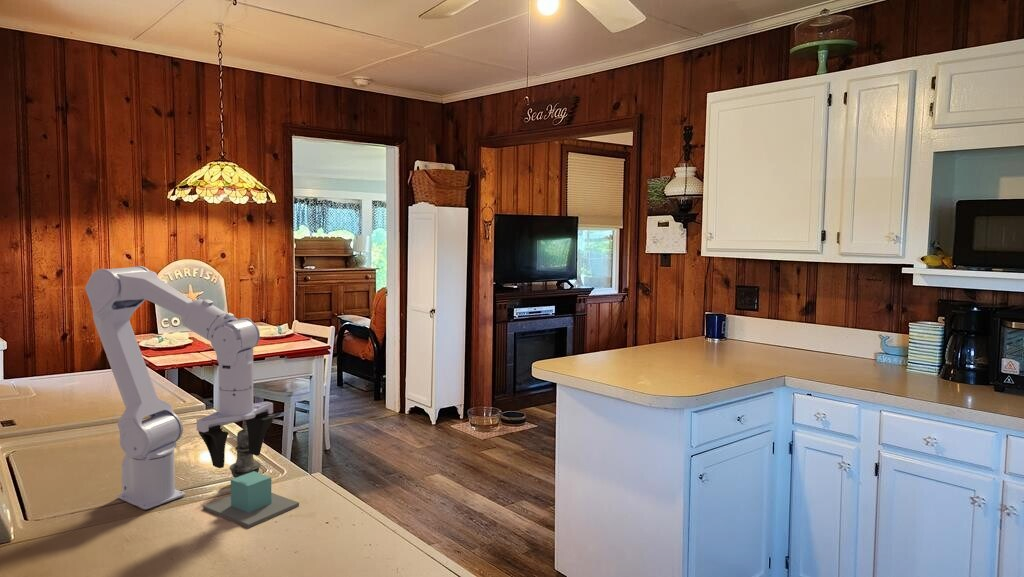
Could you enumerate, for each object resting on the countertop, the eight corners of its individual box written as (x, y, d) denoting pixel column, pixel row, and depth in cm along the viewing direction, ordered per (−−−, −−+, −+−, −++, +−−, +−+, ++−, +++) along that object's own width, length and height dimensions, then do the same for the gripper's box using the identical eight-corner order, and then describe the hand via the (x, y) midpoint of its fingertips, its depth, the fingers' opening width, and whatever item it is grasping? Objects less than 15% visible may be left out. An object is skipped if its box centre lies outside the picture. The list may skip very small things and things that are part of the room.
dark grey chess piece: (250, 490, 132) (249, 431, 131) (223, 487, 133) (222, 428, 132) (266, 479, 138) (266, 422, 137) (241, 476, 139) (240, 419, 138)
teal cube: (231, 505, 124) (230, 479, 123) (254, 496, 128) (254, 471, 127) (248, 512, 121) (247, 486, 120) (271, 503, 125) (271, 477, 125)
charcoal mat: (203, 508, 123) (203, 505, 123) (254, 489, 133) (254, 486, 133) (248, 527, 117) (248, 524, 117) (299, 505, 126) (299, 502, 126)
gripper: (214, 399, 112) (215, 477, 114) (284, 382, 125) (284, 453, 126) (188, 392, 116) (189, 468, 117) (258, 376, 128) (259, 445, 130)
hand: (237, 460), depth 122 cm, fingers open, 7 cm apart
